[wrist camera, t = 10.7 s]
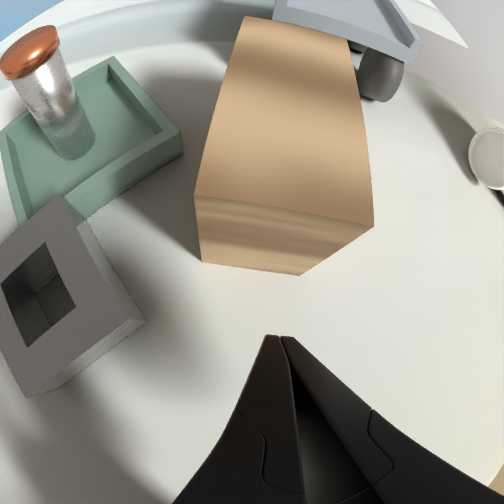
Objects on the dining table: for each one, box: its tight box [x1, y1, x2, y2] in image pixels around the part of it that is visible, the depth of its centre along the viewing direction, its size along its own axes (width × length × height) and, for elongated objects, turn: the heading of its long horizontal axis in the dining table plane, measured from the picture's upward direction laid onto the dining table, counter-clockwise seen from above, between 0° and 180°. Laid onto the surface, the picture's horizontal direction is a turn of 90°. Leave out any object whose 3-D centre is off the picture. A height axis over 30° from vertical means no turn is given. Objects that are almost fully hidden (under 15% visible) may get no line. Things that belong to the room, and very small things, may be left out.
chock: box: [194, 16, 374, 276], centre depth 15 cm, size 12×6×9 cm, turn 173°
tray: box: [0, 56, 183, 228], centre depth 17 cm, size 12×12×2 cm
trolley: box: [272, 0, 423, 102], centre depth 20 cm, size 15×12×9 cm
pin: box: [0, 25, 96, 161], centre depth 13 cm, size 4×4×10 cm
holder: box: [0, 193, 148, 398], centre depth 13 cm, size 8×8×4 cm
